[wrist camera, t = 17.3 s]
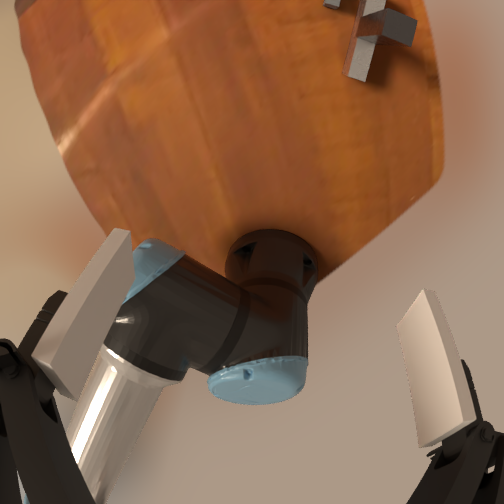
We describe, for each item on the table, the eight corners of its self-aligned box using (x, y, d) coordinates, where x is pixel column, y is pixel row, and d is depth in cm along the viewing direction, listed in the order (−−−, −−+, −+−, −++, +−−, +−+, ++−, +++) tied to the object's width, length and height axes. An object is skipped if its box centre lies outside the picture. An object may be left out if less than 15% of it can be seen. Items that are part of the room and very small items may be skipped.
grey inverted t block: (359, 78, 30) (395, 99, 19) (339, 72, 30) (366, 88, 19) (380, -5, 22) (427, -26, 11) (360, -12, 22) (397, -39, 11)
